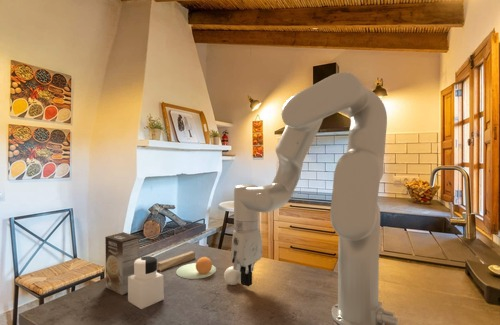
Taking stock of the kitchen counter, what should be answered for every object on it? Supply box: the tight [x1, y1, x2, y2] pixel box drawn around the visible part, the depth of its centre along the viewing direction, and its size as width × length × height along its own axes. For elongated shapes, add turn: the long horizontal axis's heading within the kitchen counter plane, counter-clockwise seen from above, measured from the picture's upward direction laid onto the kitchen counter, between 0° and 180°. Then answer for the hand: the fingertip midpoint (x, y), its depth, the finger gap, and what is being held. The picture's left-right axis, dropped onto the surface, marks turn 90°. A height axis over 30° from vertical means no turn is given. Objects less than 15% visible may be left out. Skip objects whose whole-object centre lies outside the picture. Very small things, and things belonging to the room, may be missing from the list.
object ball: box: [195, 256, 213, 274], centre depth 100 cm, size 6×6×6 cm
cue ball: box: [223, 265, 241, 286], centre depth 91 cm, size 6×6×6 cm
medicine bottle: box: [127, 255, 165, 310], centre depth 81 cm, size 7×7×12 cm
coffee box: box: [104, 231, 140, 296], centre depth 89 cm, size 9×6×16 cm
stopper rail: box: [157, 250, 196, 271], centre depth 109 cm, size 2×16×2 cm, turn 142°
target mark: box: [176, 262, 217, 280], centre depth 102 cm, size 14×14×1 cm
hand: (246, 284), depth 88 cm, fingers closed
